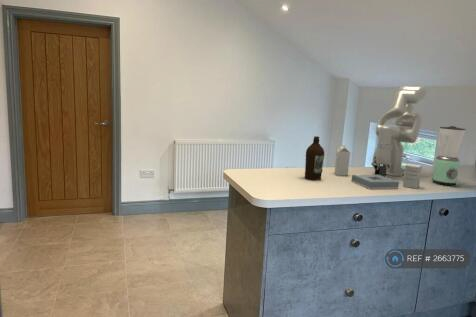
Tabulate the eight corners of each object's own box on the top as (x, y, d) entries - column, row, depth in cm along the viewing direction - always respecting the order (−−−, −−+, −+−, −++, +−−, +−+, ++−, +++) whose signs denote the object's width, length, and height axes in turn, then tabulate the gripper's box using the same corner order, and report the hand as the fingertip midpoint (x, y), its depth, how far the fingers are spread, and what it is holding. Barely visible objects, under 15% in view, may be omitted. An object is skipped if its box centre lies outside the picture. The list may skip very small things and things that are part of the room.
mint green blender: (463, 187, 213) (473, 128, 207) (441, 186, 212) (451, 127, 206) (443, 180, 232) (451, 125, 226) (423, 179, 231) (431, 124, 225)
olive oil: (299, 177, 216) (303, 135, 212) (312, 175, 222) (316, 135, 218) (312, 181, 207) (316, 137, 203) (325, 179, 213) (329, 137, 209)
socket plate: (377, 181, 218) (378, 173, 217) (398, 188, 201) (399, 180, 200) (351, 181, 213) (352, 173, 212) (370, 189, 196) (371, 181, 195)
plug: (380, 177, 228) (382, 165, 226) (385, 179, 224) (386, 166, 222) (374, 177, 227) (375, 165, 225) (378, 179, 222) (380, 166, 221)
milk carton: (345, 173, 234) (348, 144, 231) (347, 176, 227) (350, 146, 224) (334, 173, 235) (337, 144, 231) (336, 175, 228) (339, 145, 224)
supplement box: (405, 184, 213) (408, 163, 211) (419, 187, 208) (422, 165, 206) (402, 186, 207) (405, 164, 205) (416, 189, 203) (419, 167, 201)
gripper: (391, 145, 227) (387, 174, 231) (368, 145, 223) (364, 174, 226) (399, 147, 220) (395, 176, 224) (375, 147, 216) (372, 177, 219)
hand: (380, 175), depth 225 cm, fingers closed on plug, 4 cm apart
